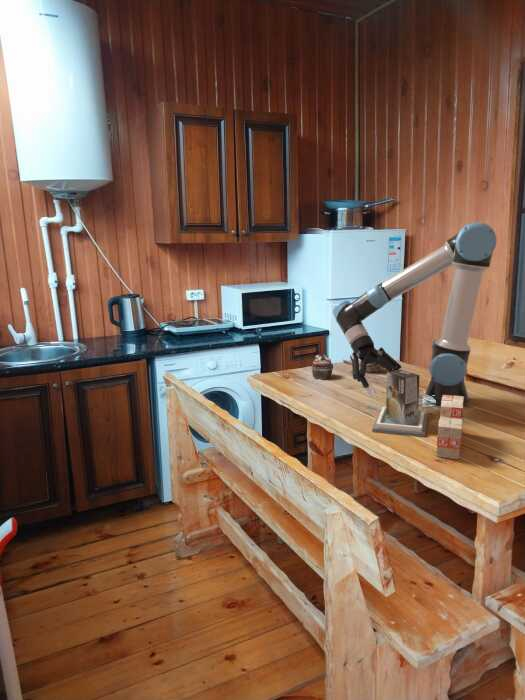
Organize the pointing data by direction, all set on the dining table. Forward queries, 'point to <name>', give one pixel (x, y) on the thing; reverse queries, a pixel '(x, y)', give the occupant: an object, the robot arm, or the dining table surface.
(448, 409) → the stack of blocks
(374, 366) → the pine cone
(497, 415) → the dining table surface
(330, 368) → the cupcake
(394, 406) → the coffee box
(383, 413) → the holder board
